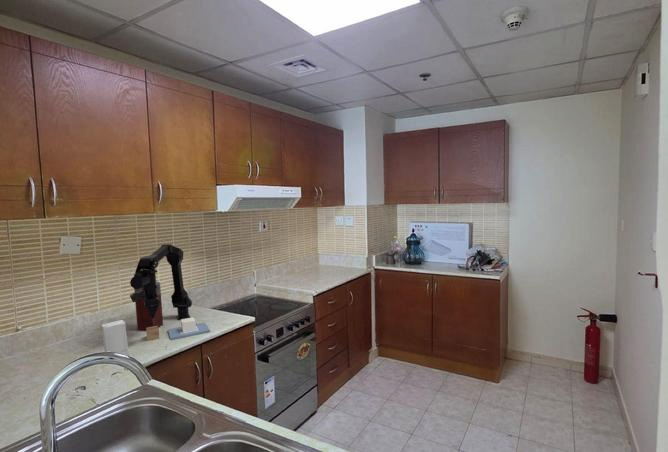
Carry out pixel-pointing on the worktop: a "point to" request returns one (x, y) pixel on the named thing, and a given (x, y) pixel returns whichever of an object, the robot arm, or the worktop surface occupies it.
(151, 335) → the walnut block
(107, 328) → the skincare box
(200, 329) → the board
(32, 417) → the worktop surface
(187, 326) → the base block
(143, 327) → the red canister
